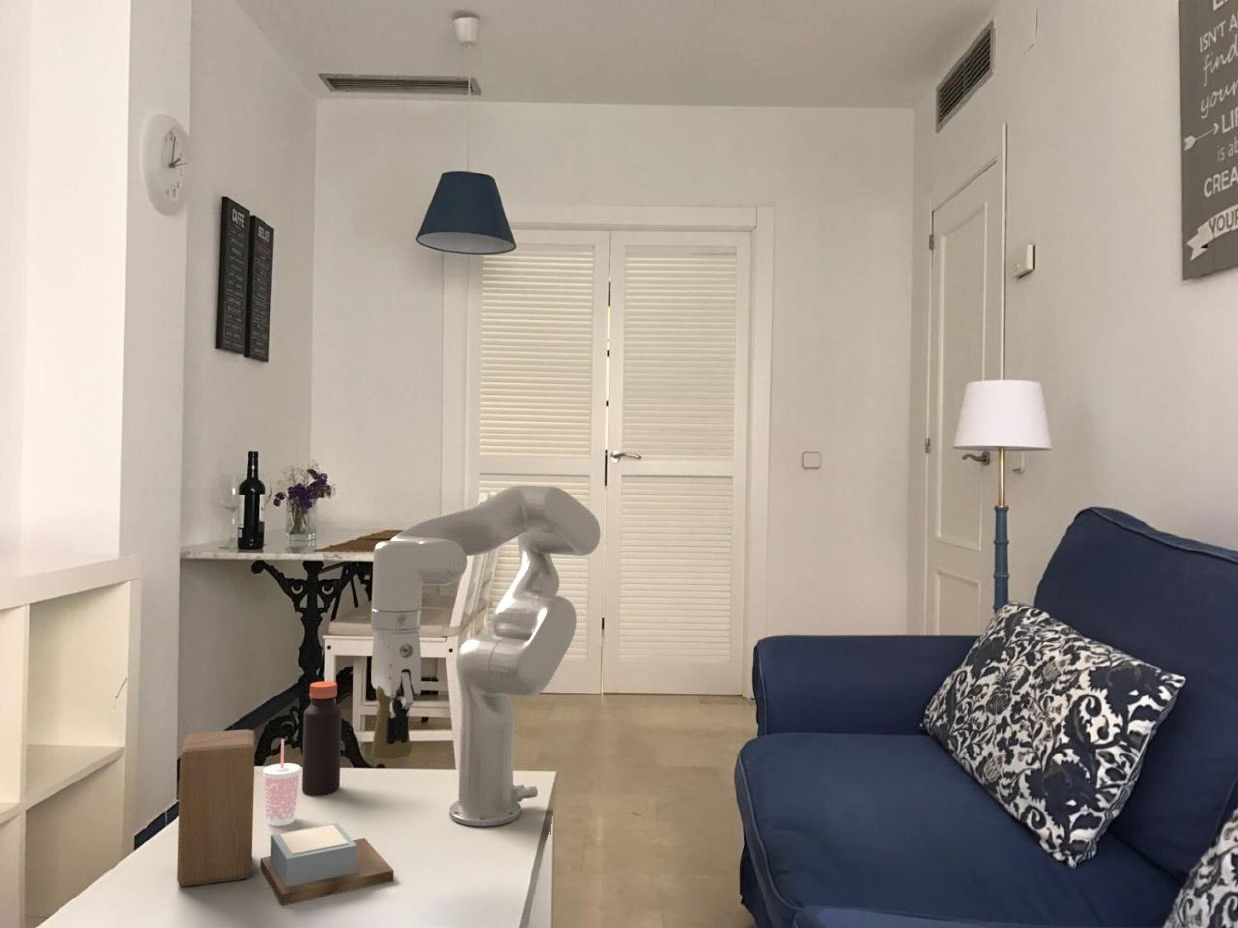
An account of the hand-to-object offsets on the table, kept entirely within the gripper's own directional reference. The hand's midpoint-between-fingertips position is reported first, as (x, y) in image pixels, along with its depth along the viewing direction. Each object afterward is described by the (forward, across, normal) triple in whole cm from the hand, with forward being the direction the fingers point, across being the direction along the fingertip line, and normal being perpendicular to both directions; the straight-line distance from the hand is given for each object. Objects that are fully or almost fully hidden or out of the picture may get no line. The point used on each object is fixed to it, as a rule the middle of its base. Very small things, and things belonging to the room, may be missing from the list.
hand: (391, 737), depth 146 cm
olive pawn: (+2, 0, 0) cm, 2 cm away
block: (+20, +11, +23) cm, 32 cm away
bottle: (+19, +38, -1) cm, 43 cm away
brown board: (+20, +1, +9) cm, 22 cm away
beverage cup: (+20, +26, +10) cm, 34 cm away
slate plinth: (+18, +1, +11) cm, 21 cm away
